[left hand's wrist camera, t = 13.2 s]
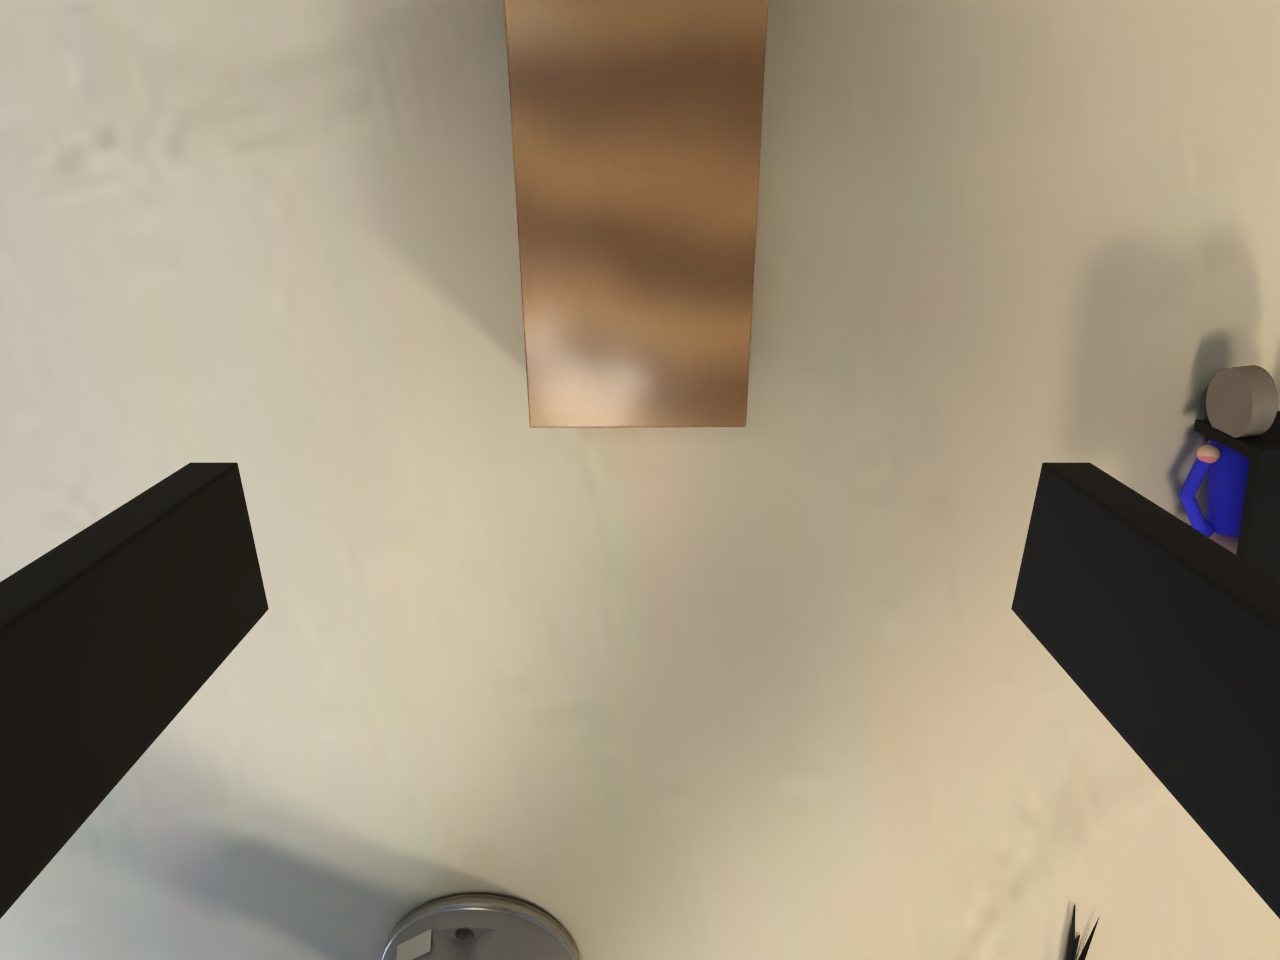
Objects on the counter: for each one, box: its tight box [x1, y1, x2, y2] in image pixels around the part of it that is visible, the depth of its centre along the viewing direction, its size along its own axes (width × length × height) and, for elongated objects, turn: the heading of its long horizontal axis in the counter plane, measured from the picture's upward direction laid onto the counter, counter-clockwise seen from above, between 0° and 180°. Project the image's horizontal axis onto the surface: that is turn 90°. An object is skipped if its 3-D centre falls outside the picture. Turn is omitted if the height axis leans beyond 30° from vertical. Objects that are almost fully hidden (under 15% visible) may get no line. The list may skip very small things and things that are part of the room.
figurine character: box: [1179, 365, 1280, 582], centre depth 41 cm, size 7×8×15 cm
